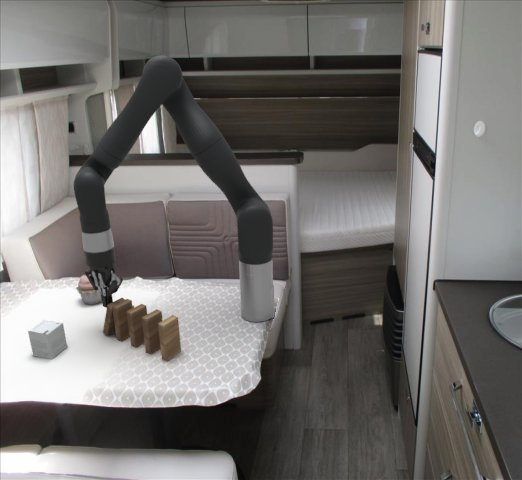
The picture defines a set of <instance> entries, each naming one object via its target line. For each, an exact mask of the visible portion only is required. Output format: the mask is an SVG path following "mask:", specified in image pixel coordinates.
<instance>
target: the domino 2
mask: <svg viewBox="0 0 522 480" xmlns="http://www.w3.org/2000/svg"><path fill="white" fill-rule="evenodd" d="M132 305H133V301H132V299H129V298H125V300H124V301H122V302H120V303H118V304H116V305H114V306H112V310H113V317H114V323H115V330H116V332H115V336H116V337H115V338H116V341H117V342H121V343H122V342H124V341H126V340H127V339H130V334H129V326H128V319H127V311H129V310H131V309H133V307H132Z"/></svg>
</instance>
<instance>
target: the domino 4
mask: <svg viewBox="0 0 522 480" xmlns="http://www.w3.org/2000/svg"><path fill="white" fill-rule="evenodd" d="M162 321H163V312H162V310H159V309H154V310H153V311H151V312H149V313H147V315H145V316H144V317H142V325H143V333H144V341H145V343H144V348H145V353H146V354H148V355H150V356H152V355H153V354H155V353H156V352H158V351H159V350H161V346H160V337H159V328H158V323H160V322H162Z"/></svg>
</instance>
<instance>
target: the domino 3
mask: <svg viewBox="0 0 522 480" xmlns="http://www.w3.org/2000/svg"><path fill="white" fill-rule="evenodd" d="M134 307H135V308H133V309H131V310H129V311H127V319H128V326H129V334H130V337H129V340H130V347H131V348H135V349H137V348H139V347H141V346H143V345H145V341H144V333H143V325H142V317H144V316H145V315H147V314H148V309H147V305H146V304H143V303H140V304H139V305H137V306H134Z"/></svg>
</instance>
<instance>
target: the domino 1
mask: <svg viewBox="0 0 522 480" xmlns="http://www.w3.org/2000/svg"><path fill="white" fill-rule="evenodd" d="M124 300H126V298H124V297H121V298H119V299H117V300H115V301H114V300H113V302H112V303H110V304H108V305H107V308H106V310H105V311H106V312H105V317H104V324H103V330H102V333H103V334H104V335H105V336H106V337H109V336H110V335H112V334H114V333H116V330H115V323H114V317H113V310H112V306H114V305H116V304H118V303H120V302H122V301H124Z"/></svg>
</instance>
